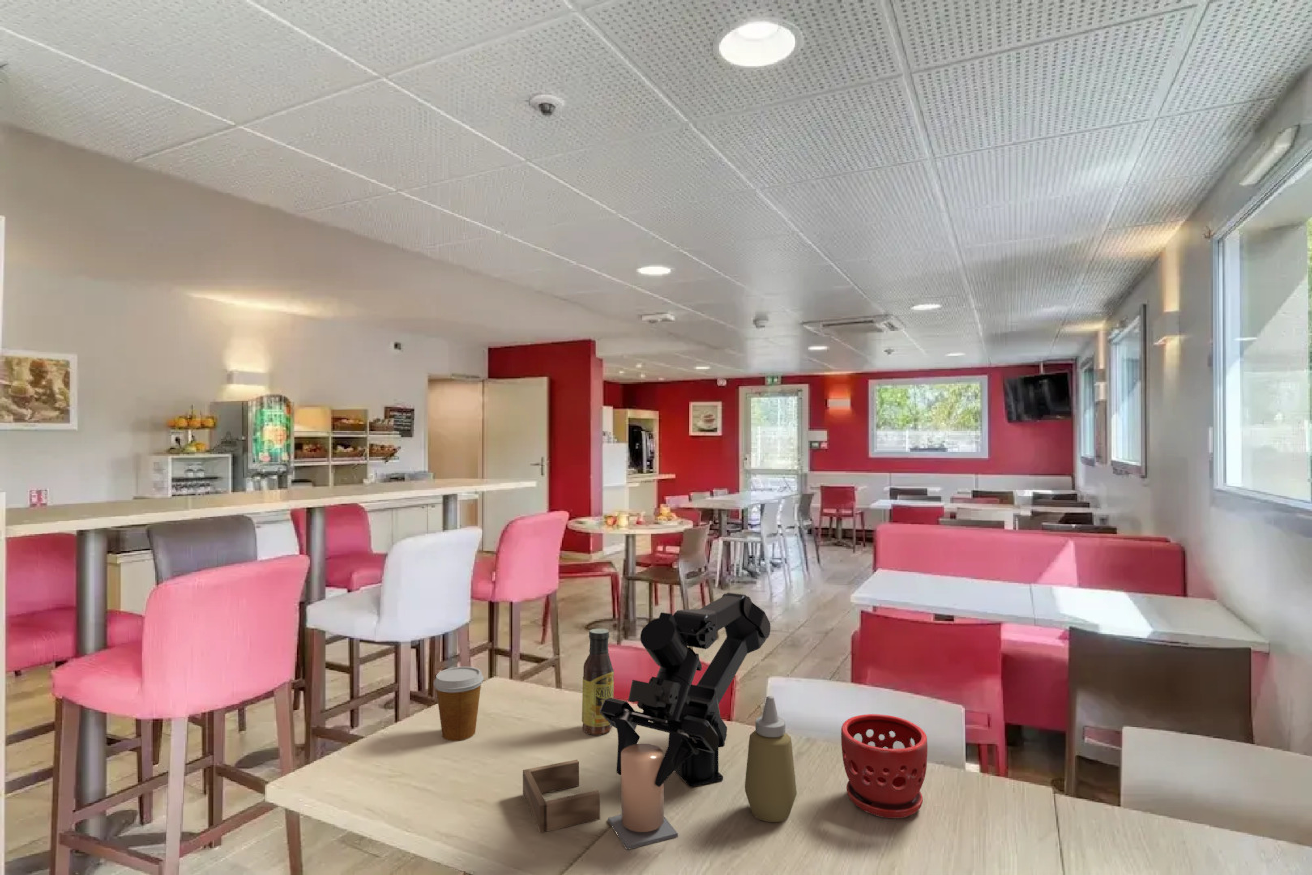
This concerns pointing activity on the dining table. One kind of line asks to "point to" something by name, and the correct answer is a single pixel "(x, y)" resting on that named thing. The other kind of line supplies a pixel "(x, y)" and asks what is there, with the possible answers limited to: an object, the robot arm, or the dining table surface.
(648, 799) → the tan cylinder
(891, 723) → the plant pot
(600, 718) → the sauce bottle
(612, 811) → the dining table surface
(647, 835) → the rubber mat
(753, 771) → the squeeze bottle
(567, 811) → the open u-shaped wooden holder
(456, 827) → the dining table surface
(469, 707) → the disposable coffee cup
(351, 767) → the dining table surface
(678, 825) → the dining table surface
